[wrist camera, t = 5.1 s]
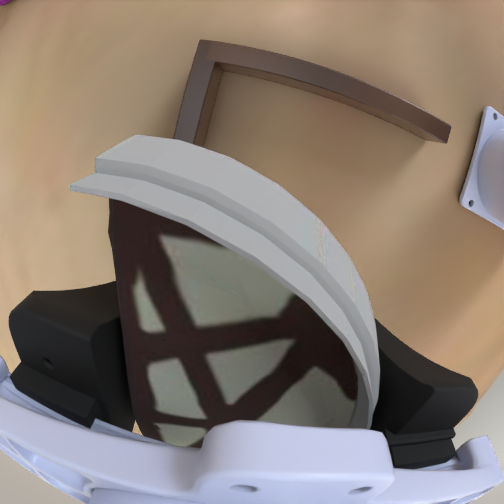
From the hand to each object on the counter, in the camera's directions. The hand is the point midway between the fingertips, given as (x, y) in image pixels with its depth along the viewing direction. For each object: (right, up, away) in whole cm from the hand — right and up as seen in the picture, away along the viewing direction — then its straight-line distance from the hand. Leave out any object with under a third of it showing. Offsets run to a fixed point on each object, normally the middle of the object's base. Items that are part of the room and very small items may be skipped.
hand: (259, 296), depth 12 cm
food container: (0, +1, +3) cm, 3 cm away
